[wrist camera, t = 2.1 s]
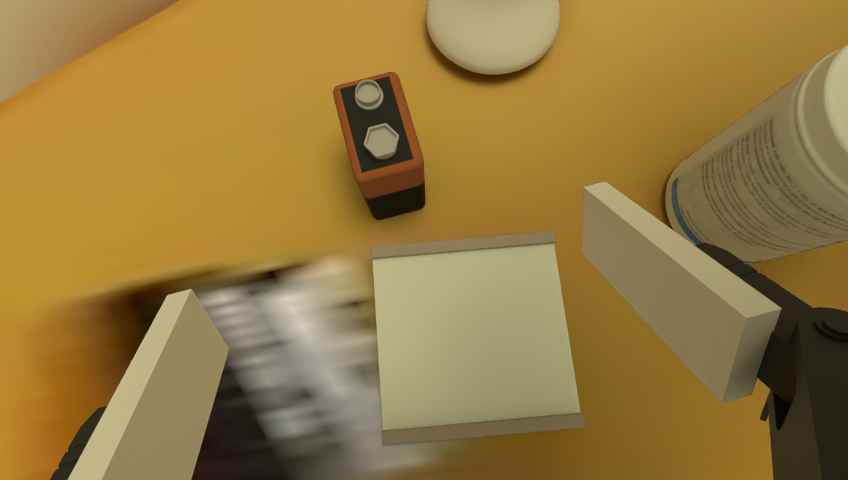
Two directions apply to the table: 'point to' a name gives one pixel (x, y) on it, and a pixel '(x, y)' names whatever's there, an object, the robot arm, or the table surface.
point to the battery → (382, 144)
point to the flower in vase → (493, 32)
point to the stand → (472, 339)
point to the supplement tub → (772, 173)
